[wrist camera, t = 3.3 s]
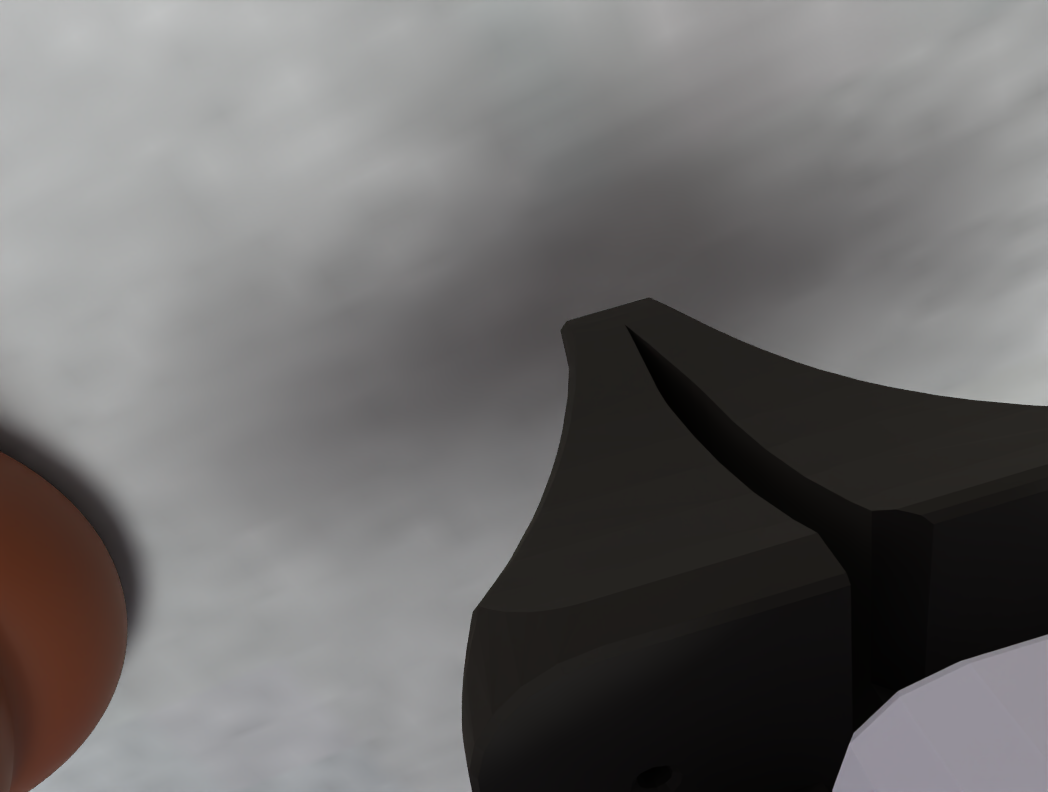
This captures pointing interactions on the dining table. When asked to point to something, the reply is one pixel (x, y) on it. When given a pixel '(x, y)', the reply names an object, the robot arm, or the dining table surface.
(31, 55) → the dining table surface
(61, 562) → the poop emoji
